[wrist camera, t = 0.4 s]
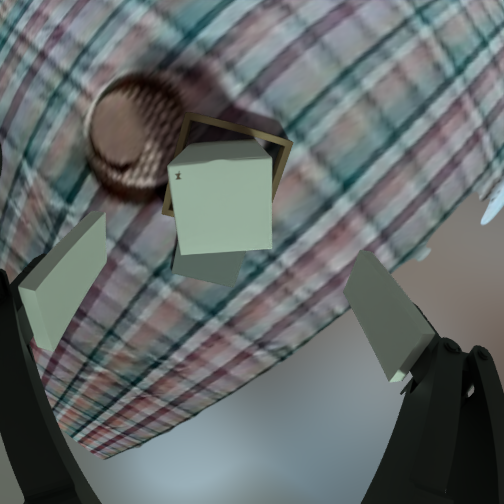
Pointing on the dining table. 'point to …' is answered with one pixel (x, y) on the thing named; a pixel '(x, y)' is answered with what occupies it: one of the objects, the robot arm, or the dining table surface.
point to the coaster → (209, 266)
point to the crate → (191, 117)
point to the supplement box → (222, 196)
